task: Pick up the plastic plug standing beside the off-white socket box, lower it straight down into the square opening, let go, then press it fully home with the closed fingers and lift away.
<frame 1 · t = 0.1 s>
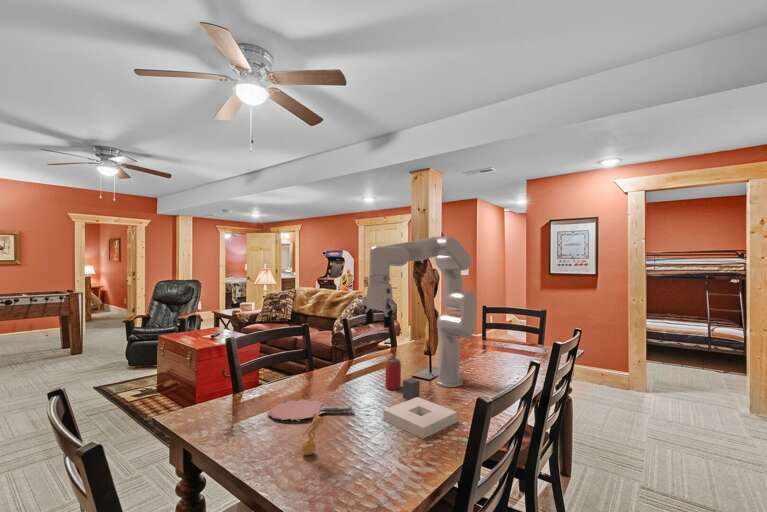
hand: (378, 325, 135), 31 cm above the table, tool pointing down, fingers open, 9 cm apart
beer can: (392, 388, 158), on the table
socket: (419, 421, 126), on the table
table tennis paddle: (308, 414, 131), on the table
figurine: (311, 455, 103), on the table
plug: (410, 400, 144), on the table
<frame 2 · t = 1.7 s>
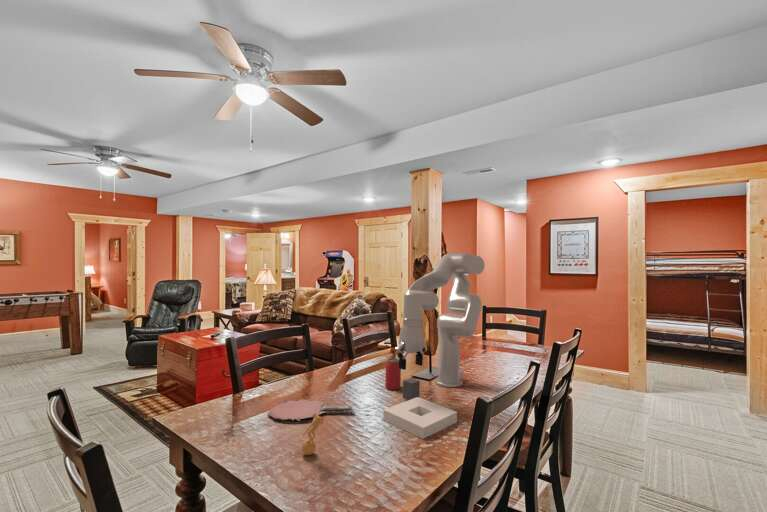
hand: (410, 366, 143), 14 cm above the table, tool pointing down, fingers open, 9 cm apart
nothing on the table moved.
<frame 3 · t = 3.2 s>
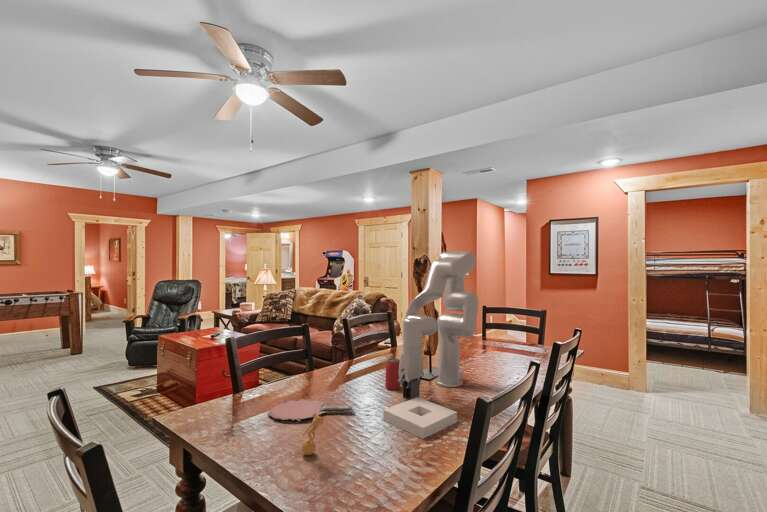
hand: (411, 395, 144), 2 cm above the table, tool pointing down, fingers closed on plug, 4 cm apart
plug: (410, 400, 144), on the table, touching gripper
everything else where it was.
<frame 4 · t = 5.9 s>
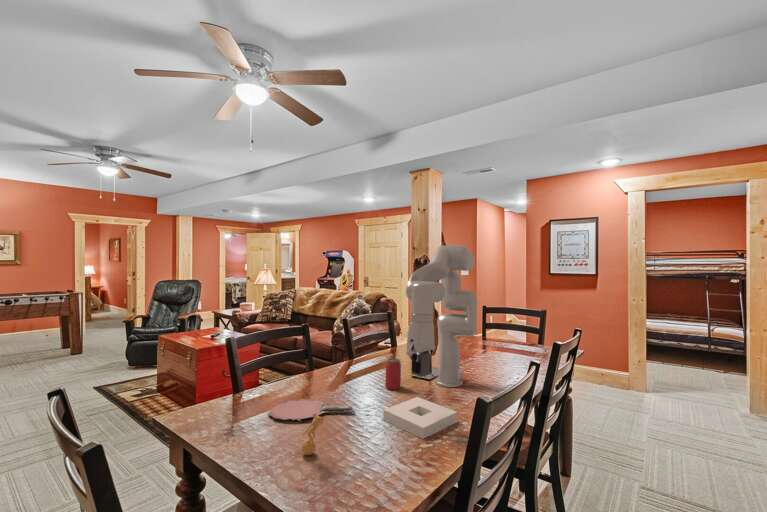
hand: (420, 370, 126), 17 cm above the table, tool pointing down, fingers closed on plug, 4 cm apart
plug: (420, 376, 126), point 15 cm above the table, touching gripper
everything else where it was.
when the fingers open (4 cm above the table, at t = 8.8 s): plug drops 1 cm, resting on socket.
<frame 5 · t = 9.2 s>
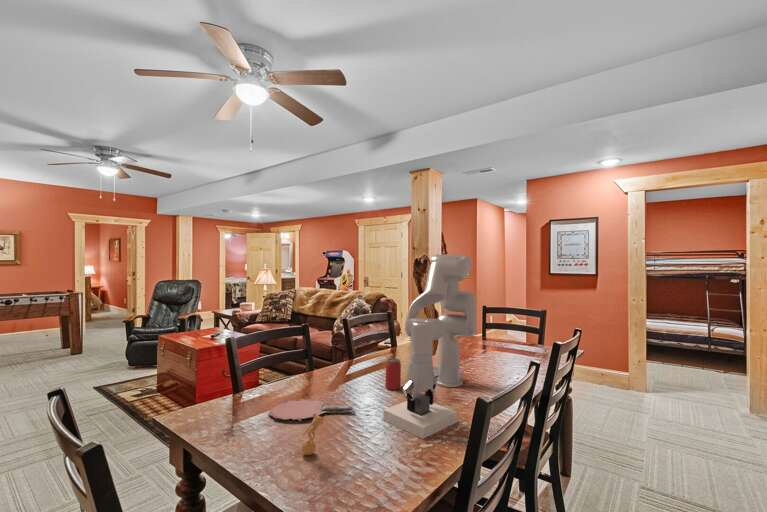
hand: (420, 407, 126), 5 cm above the table, tool pointing down, fingers open, 9 cm apart
plug: (419, 419, 126), point 1 cm above the table, touching socket
everything else where it was.
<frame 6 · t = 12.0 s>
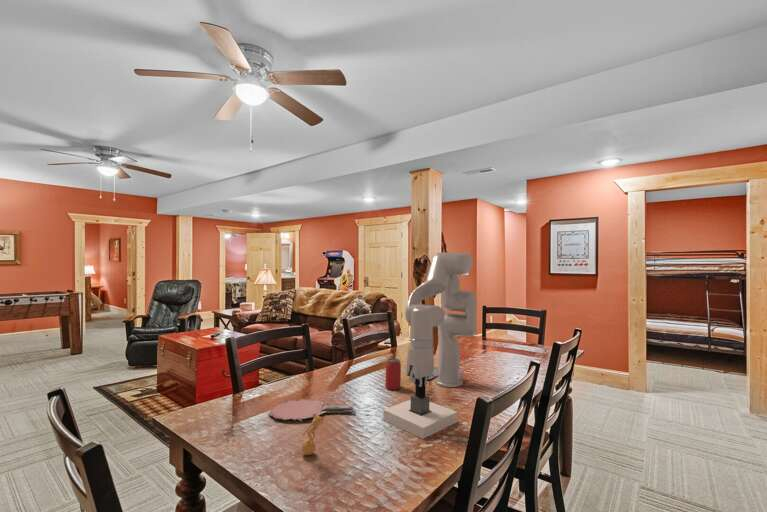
hand: (420, 396, 126), 9 cm above the table, tool pointing down, fingers closed
plug: (419, 419, 126), point 1 cm above the table, touching gripper, socket
everything else where it was.
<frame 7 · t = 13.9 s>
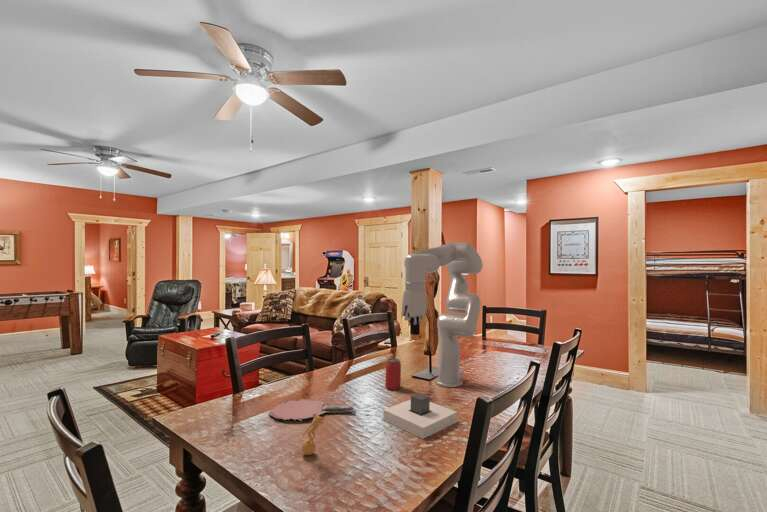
hand: (414, 334, 140), 27 cm above the table, tool pointing down, fingers closed
plug: (419, 419, 126), resting on socket
everything else where it was.
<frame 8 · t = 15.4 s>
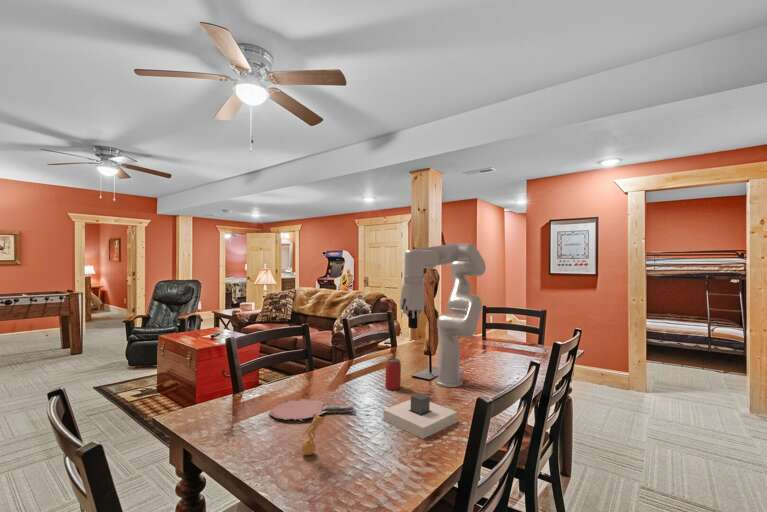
hand: (412, 327, 142), 29 cm above the table, tool pointing down, fingers closed
nothing on the table moved.
at the end: plug 0.1 cm off-centre on the socket, point 0.5 cm above the socket's base; plug tilted 0°; the gripper is holding nothing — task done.
